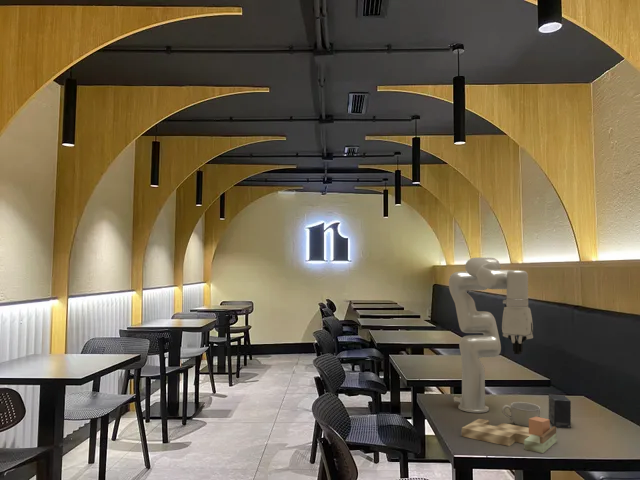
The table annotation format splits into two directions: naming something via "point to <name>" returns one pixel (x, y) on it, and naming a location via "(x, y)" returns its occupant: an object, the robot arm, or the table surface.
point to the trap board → (509, 435)
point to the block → (538, 426)
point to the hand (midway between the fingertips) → (517, 353)
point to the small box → (559, 411)
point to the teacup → (522, 412)
